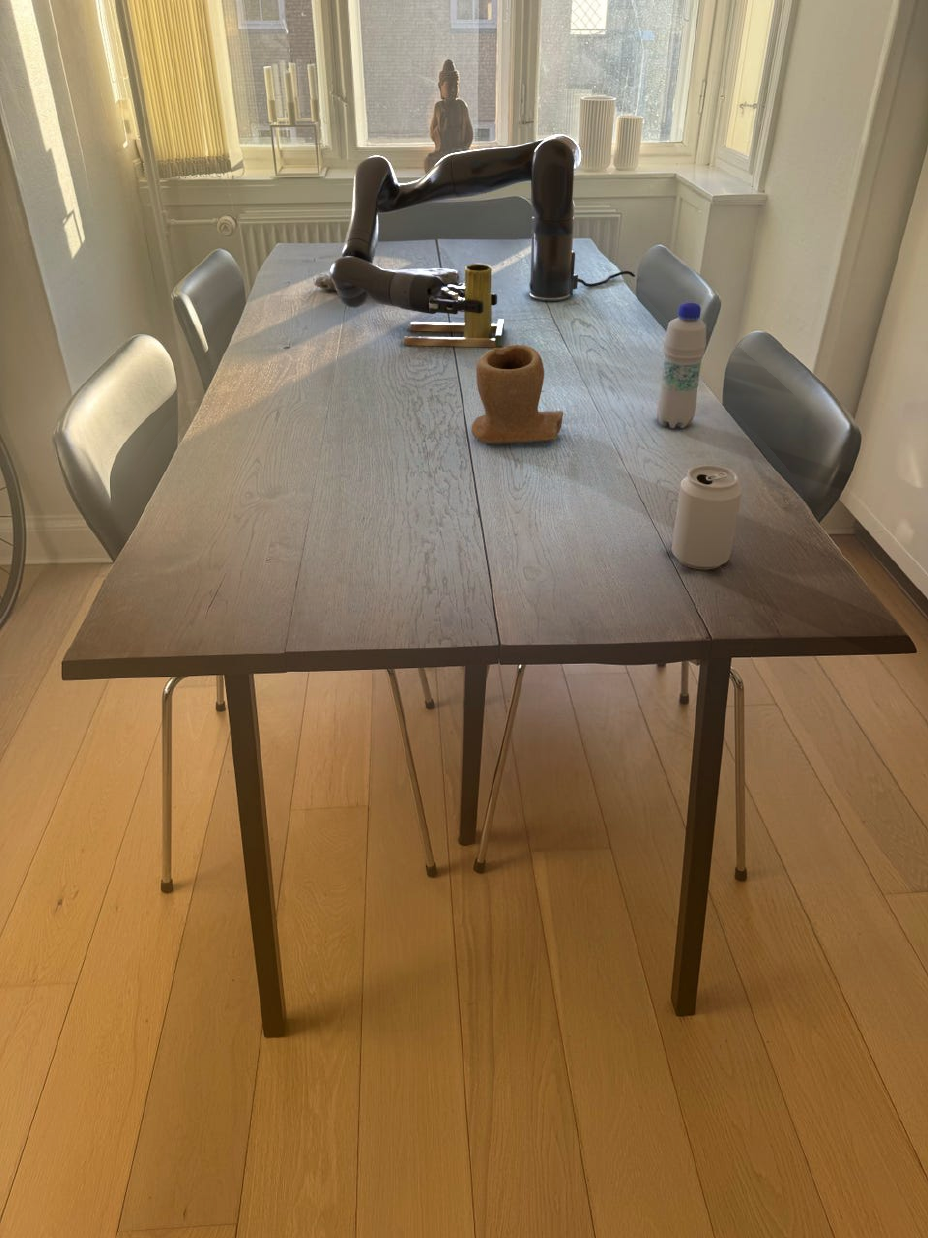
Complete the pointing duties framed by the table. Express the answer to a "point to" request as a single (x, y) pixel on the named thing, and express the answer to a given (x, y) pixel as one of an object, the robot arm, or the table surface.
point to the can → (706, 516)
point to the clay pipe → (513, 398)
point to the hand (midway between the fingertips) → (489, 303)
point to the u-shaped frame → (453, 340)
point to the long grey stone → (445, 274)
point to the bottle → (681, 367)
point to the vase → (479, 291)
